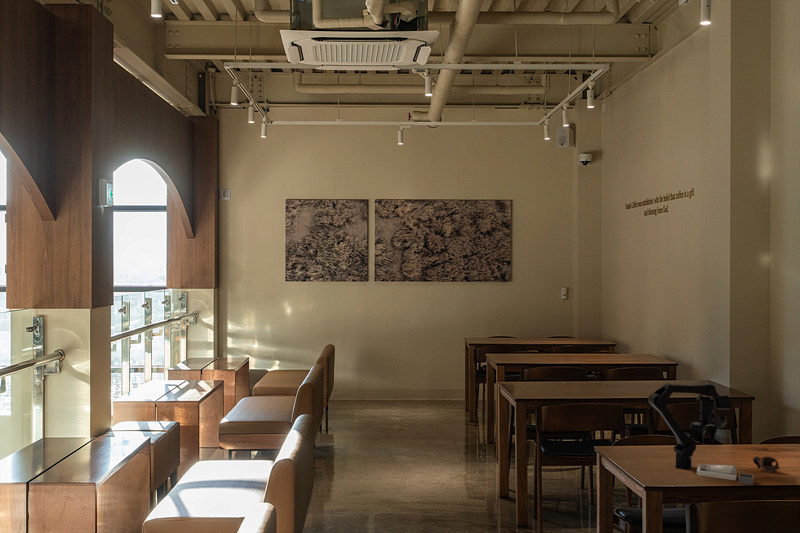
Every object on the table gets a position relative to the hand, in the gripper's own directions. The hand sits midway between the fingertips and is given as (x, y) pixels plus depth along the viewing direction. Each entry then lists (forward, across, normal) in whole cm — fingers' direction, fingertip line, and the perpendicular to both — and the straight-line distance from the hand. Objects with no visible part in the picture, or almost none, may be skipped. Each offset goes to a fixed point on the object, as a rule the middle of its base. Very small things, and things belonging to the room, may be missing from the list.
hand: (707, 442), depth 323 cm
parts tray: (+12, -9, -10) cm, 18 cm away
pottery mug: (+12, +17, -19) cm, 28 cm away
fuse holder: (+12, -10, -24) cm, 29 cm away
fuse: (+10, -9, -6) cm, 15 cm away
